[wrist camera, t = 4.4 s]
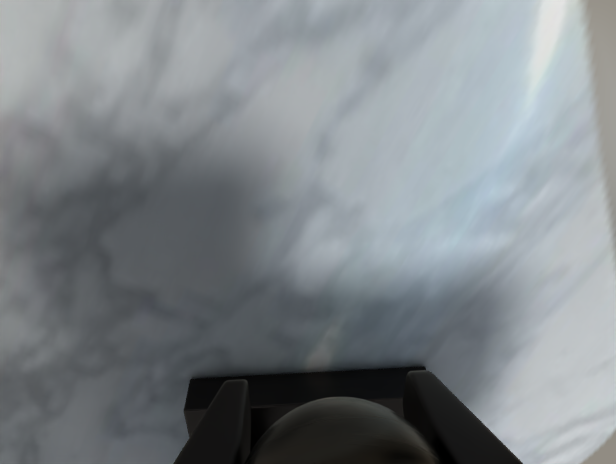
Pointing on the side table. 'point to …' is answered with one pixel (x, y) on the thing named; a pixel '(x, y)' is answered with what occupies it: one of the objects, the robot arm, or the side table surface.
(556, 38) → the side table surface
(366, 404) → the lever
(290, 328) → the side table surface
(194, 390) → the bracket
